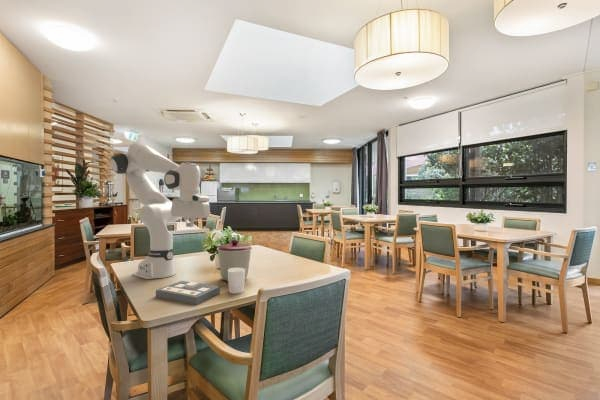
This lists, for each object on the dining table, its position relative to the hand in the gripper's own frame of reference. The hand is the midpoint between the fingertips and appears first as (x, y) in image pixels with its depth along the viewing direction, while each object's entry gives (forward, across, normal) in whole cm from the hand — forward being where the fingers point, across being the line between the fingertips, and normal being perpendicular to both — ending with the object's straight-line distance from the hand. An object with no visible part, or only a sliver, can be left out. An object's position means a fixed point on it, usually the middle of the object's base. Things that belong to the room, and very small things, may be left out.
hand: (189, 226), depth 137 cm
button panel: (+29, +6, -7) cm, 31 cm away
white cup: (+29, +22, +6) cm, 37 cm away
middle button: (+27, +6, -5) cm, 28 cm away
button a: (+29, 0, -5) cm, 29 cm away
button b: (+29, +12, -5) cm, 32 cm away
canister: (+29, +10, +22) cm, 38 cm away
